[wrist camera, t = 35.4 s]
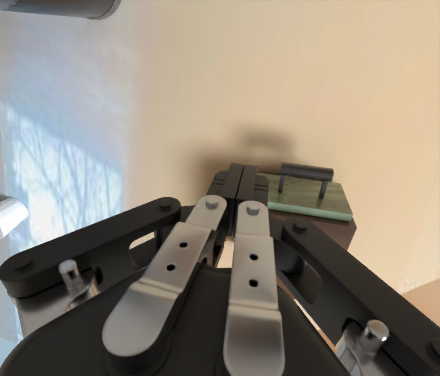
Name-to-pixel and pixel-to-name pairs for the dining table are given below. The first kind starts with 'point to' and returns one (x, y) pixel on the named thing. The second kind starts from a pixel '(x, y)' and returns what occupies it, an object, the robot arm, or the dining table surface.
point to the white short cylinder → (11, 215)
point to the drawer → (307, 192)
